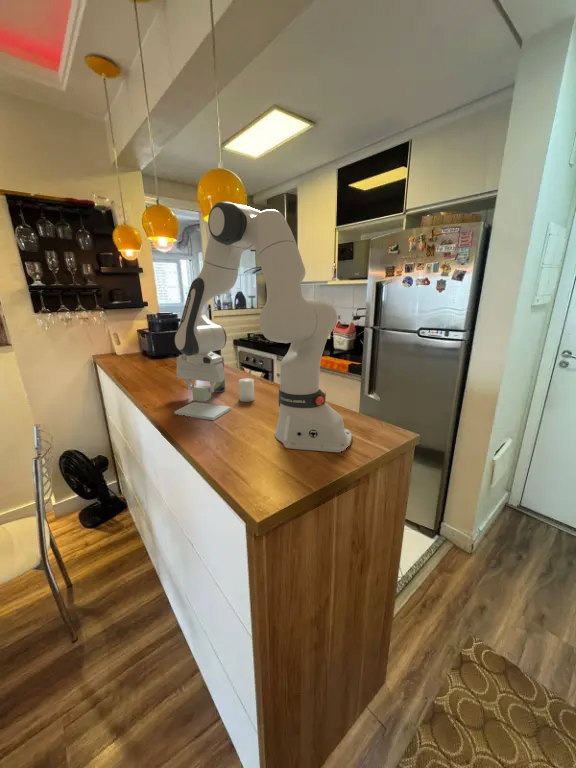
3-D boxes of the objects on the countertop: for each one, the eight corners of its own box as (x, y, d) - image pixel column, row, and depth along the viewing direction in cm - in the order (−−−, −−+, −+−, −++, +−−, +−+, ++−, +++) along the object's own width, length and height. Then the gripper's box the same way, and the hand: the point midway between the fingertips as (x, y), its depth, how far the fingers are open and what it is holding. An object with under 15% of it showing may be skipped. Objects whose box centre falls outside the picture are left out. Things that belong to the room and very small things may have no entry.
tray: (230, 409, 112) (230, 406, 112) (213, 420, 102) (213, 417, 102) (194, 404, 118) (194, 401, 117) (174, 414, 108) (174, 411, 107)
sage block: (211, 398, 125) (210, 386, 124) (203, 401, 121) (202, 389, 119) (200, 396, 127) (199, 385, 125) (193, 400, 122) (192, 388, 121)
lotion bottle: (222, 393, 131) (219, 346, 126) (209, 392, 132) (206, 346, 127) (227, 389, 137) (225, 344, 131) (215, 388, 138) (212, 344, 132)
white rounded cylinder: (257, 398, 125) (256, 379, 123) (250, 402, 120) (249, 382, 118) (243, 396, 127) (243, 377, 125) (236, 400, 122) (235, 381, 120)
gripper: (171, 355, 120) (174, 389, 124) (216, 360, 113) (218, 396, 117) (182, 353, 125) (184, 385, 129) (225, 357, 119) (227, 391, 123)
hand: (201, 390), depth 123 cm, fingers open, 8 cm apart
